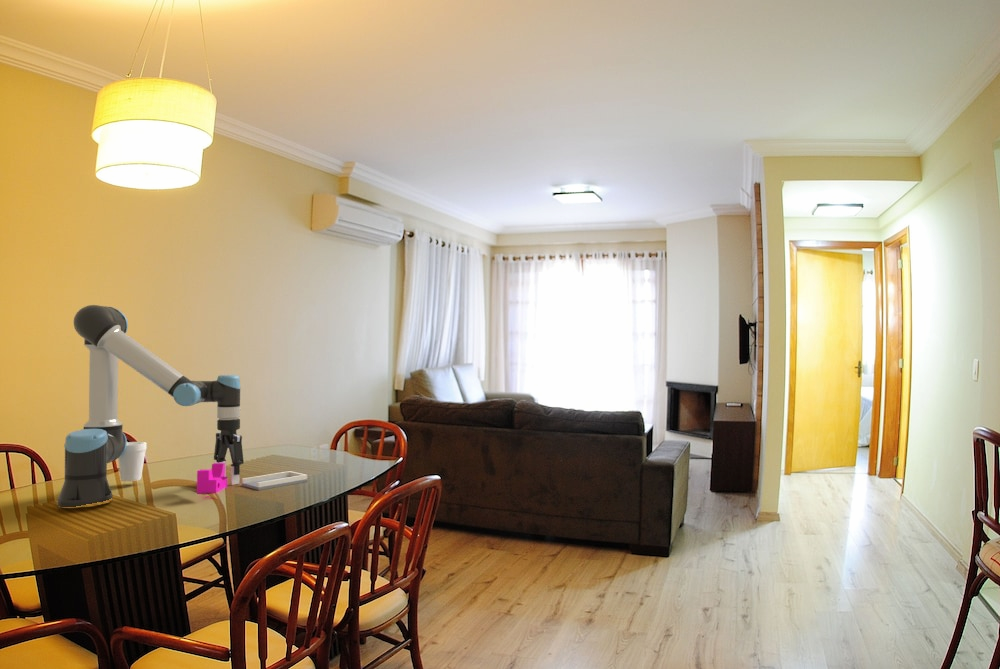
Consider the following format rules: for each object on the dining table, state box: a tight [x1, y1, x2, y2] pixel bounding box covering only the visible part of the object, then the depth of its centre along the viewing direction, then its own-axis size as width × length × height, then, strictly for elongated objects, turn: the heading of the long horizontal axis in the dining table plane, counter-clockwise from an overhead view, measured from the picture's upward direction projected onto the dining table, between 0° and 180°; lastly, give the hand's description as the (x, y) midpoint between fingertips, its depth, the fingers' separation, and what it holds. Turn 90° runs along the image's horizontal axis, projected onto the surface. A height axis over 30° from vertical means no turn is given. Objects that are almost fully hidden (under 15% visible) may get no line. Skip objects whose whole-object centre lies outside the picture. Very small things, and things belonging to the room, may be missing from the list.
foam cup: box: [117, 441, 147, 482], centre depth 244 cm, size 10×9×13 cm
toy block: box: [196, 462, 228, 495], centre depth 230 cm, size 15×6×8 cm, turn 3°
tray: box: [241, 470, 308, 491], centre depth 238 cm, size 19×11×2 cm, turn 140°
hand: (228, 482), depth 239 cm, fingers open, 9 cm apart
